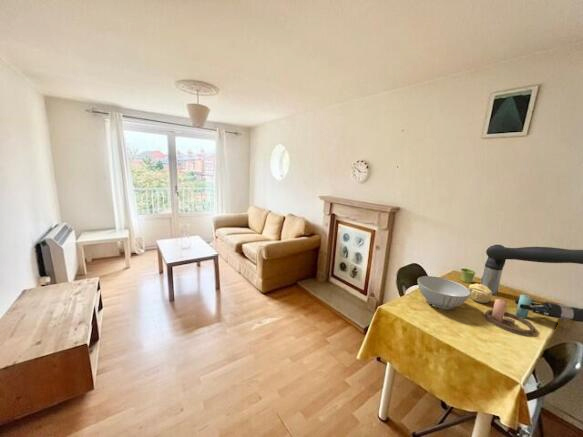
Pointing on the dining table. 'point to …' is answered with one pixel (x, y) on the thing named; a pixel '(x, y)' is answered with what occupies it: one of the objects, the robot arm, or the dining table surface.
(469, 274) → the plant pot
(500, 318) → the pink cylinder
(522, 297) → the teal cylinder
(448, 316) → the dining table surface
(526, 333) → the brown ring
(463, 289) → the decorative bowl
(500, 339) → the dining table surface
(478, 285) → the sculpture
